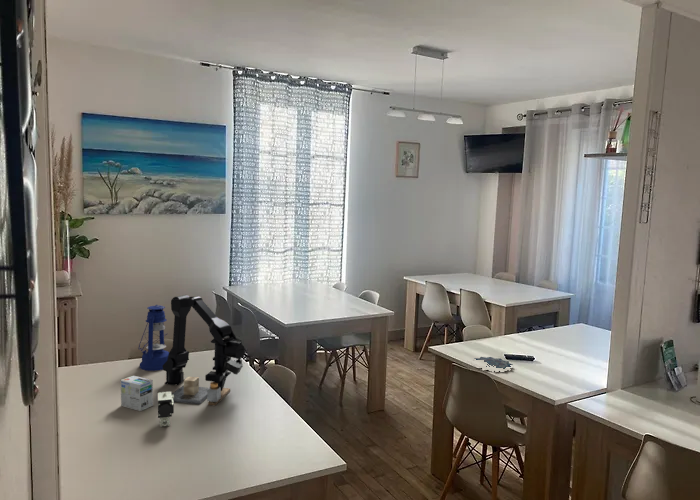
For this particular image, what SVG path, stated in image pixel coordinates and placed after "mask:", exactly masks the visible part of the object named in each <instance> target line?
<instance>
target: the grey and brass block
mask: <svg viewBox="0 0 700 500" xmlns="http://www.w3.org/2000/svg"><path fill="white" fill-rule="evenodd" d="M207 388H208V389H207V398H206V400H207V402H209V401H211V402H217V401H218V400H219V399H220V398H221V386H218V382H213V381H210V383H209V387H207Z"/></svg>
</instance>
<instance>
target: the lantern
mask: <svg viewBox="0 0 700 500" xmlns="http://www.w3.org/2000/svg"><path fill="white" fill-rule="evenodd" d="M165 308H166V307H165V306H164V305H161V304H155V305H150V306H148V307H147V310H148V311H147V316H146V320H145V323H146V325H145V328H144V331H143V333H142V336H141V339H140V342H139V344H138V348H139V350H140V352H141V353H142V355H141V362H140V363H139V369H140V370H142V371H146V372H147V371H148V372H156V371H157V372H159V371H164V370H163V367H162V366H163V365H164V364H165V362H166V361H167V359H168V354H169V352H170V351H168V350H164V349H165V348H167V345H166V344H165V337H166V336H167V335H168V333H165V329H166V325H164V324H165V323H164V322H167V319H166V315H165V314H166V313H165V311H164V309H165ZM146 330H147V332H146ZM158 331H159V335H158V334H156V333H154V332H158ZM147 333H148V334H147ZM145 335H147V337H146V336H145ZM154 335H155V336H157V337H159V338H157V339H156V340H154ZM143 337H145V339H146V340H147V343H146V344H144V345H143V347H141V348H140V346H141V343H142V341H143ZM156 341H159V343H158V342H156ZM155 342H156V343H155ZM146 345H147V346H146ZM144 348H146V349H147V350H144Z"/></svg>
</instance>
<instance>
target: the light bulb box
mask: <svg viewBox="0 0 700 500" xmlns="http://www.w3.org/2000/svg"><path fill="white" fill-rule="evenodd" d="M153 385H154V382H153V379H151V378H150V379H149V378H146V377H141V376H138V375H137V376H136V375H132V376H128V377H126V378H122V379H120V406H121V407H124V408H127V409H131V410H135V411H139V412H141V411H143V410H144V411H145V410H146V409H148V408H150V407H152V406H154V390H153V389H154V388H153Z"/></svg>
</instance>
